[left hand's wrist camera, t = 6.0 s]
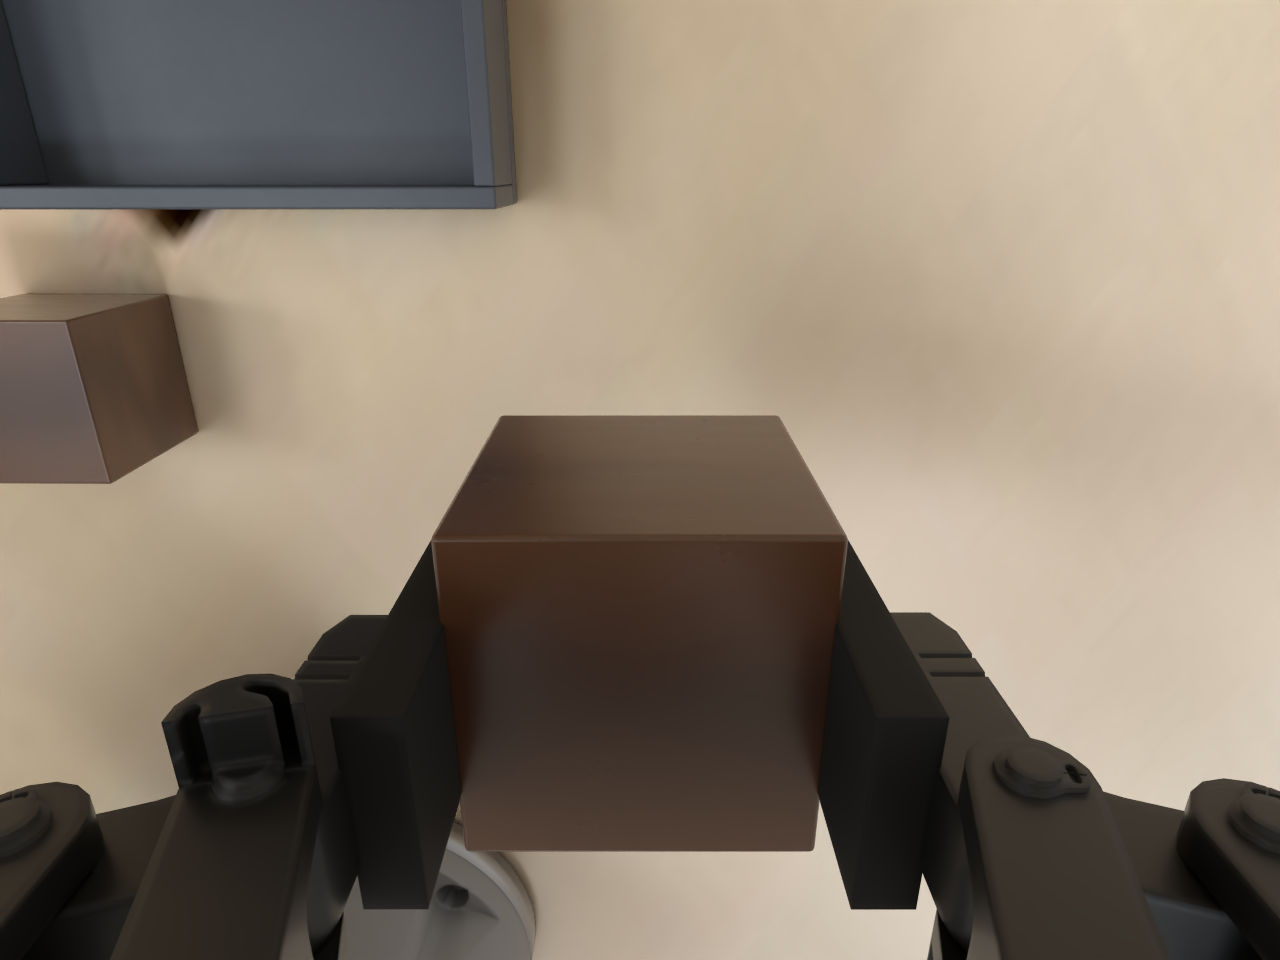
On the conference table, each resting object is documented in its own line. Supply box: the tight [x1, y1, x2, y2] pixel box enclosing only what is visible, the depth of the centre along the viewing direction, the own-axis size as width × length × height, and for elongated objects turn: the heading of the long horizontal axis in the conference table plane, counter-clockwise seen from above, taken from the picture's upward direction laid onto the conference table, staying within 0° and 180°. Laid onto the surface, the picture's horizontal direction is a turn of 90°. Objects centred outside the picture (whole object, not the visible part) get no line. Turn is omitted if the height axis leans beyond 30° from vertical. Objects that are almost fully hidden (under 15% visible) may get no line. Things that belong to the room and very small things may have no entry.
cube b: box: [0, 294, 197, 484], centre depth 25 cm, size 5×5×5 cm
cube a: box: [431, 416, 848, 851], centre depth 13 cm, size 5×5×5 cm
